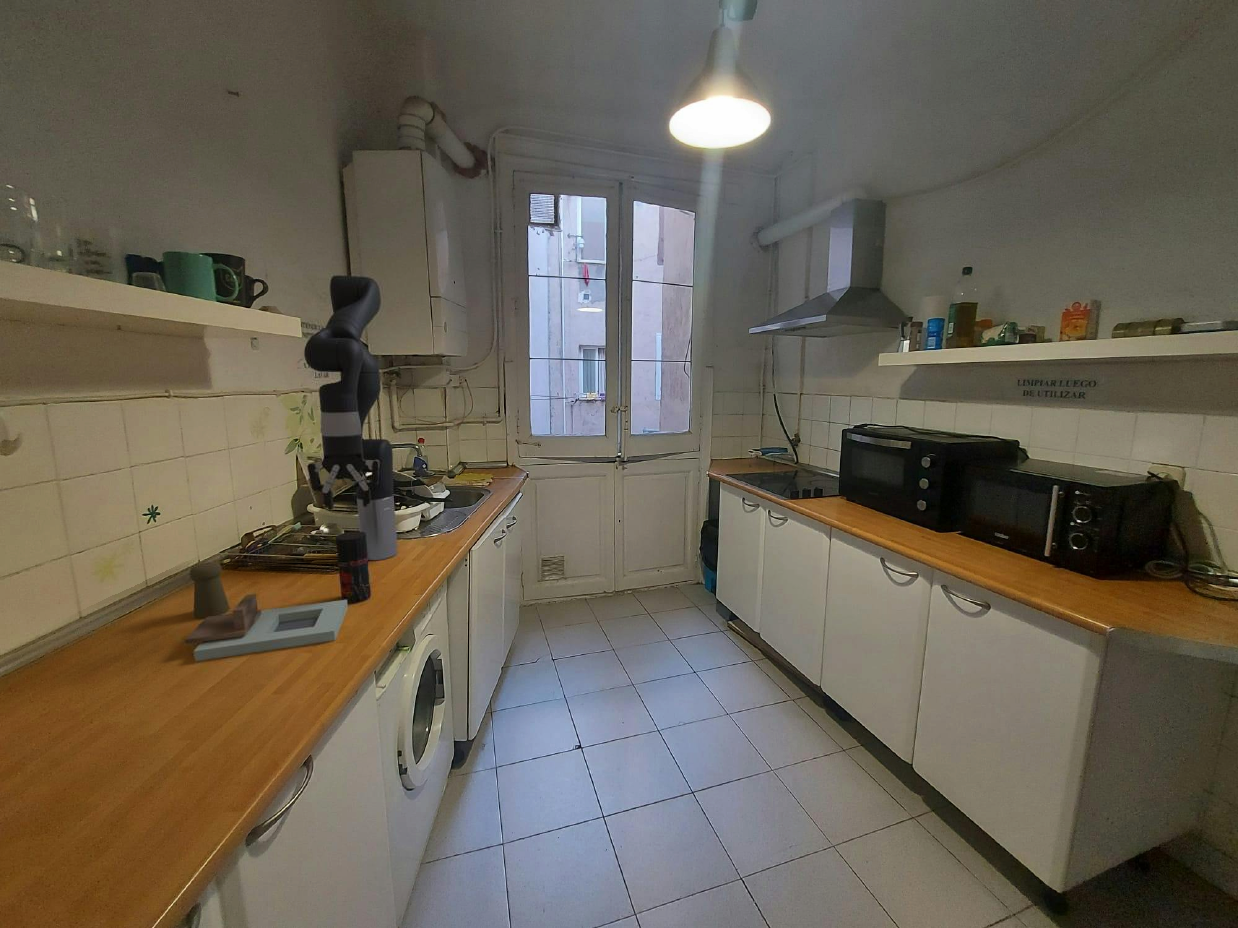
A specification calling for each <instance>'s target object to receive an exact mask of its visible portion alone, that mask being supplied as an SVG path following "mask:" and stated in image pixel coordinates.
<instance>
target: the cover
mask: <svg viewBox="0 0 1238 928" xmlns="http://www.w3.org/2000/svg"><path fill="white" fill-rule="evenodd" d="M261 610H262V609H259V608H258V600H257V593H252V594H246V595H245V596H244V597H243V598H242V599H241V600H240V601H239V602H238V604H237V605H236V606H235V607H234V608H233V609H232V610H231V611H232V612H231V613H224V614H222V615H217V616H209V617H206V618H205V619H202V622H200V624H198V626H197V627H196V628H195V629H193V631H192V632H191V633H190V634H189V635H188V636H187V637H186V638H185V639H184V643H185V644H187V645H188V644H195V643H201V642H203V641H210V640H217V639H224V638H231V637H239V636H245V635H246V634H247V632H248V631H249V630H250V628H251V627H252V626H253V624H254V623H255V622H256V620H257V619H258V618H259V616H260V615H261V614H262V613H261Z"/></svg>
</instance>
